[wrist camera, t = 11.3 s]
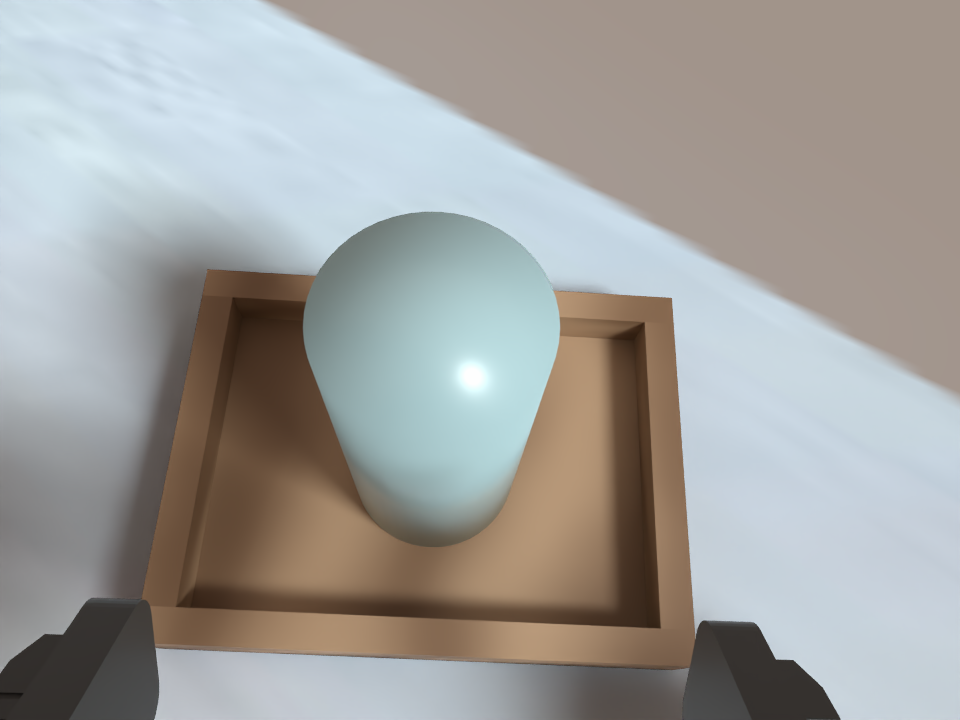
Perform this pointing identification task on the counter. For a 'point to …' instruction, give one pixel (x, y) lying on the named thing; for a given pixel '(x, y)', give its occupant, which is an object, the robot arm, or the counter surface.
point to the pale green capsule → (432, 367)
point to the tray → (410, 568)
